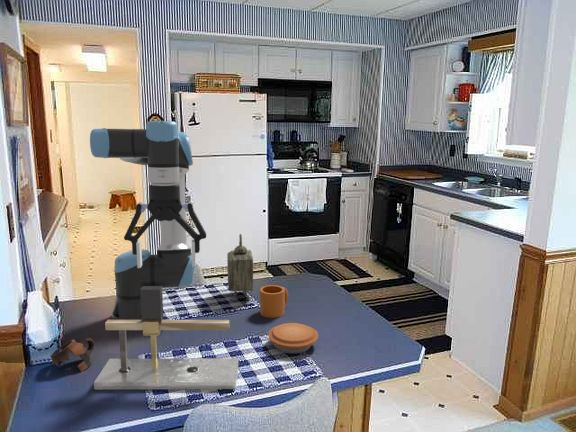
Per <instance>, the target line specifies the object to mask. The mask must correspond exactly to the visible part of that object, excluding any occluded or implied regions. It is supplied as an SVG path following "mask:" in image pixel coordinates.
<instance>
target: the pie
mask: <svg viewBox="0 0 576 432" xmlns="http://www.w3.org/2000/svg"><path fill="white" fill-rule="evenodd" d="M267 335H268V339H269V340H270V341H271V343H272V344H273V346H274V347H275V348H276V349H277V350H278V351H280V352H282V353H286V354H293V353H294V354H295V355H297V354H301V353H305V352H307V351H309V349H311V347H312V346H313V344H315V343H316V342H317V340H318V338H319V332H318V331H317V330H316V329H315V328H313V327H311V326H309V325H306V324H303V323H300V322H299V323H298V322H285V323H281V324H279V325H276V326H274V327H271V329H270V330H268V333H267ZM294 354H293V355H294Z"/></svg>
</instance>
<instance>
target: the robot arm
mask: <svg viewBox="0 0 576 432" xmlns="http://www.w3.org/2000/svg"><path fill="white" fill-rule="evenodd" d="M145 127H146V128H106V127H102V128H93V129H92V130H90V134H89V148H90V152H91V155H92V156H93V157H95V158H99V159H100V158H101V159H108V158H109V159H119V160H121V161H123V162H126V163H131V164H135V165H140V166H147V176H148V177H147V178H148V180H147V181H148V182H149V186H148V203H142V202H138V203H137V204H136V205H135V213H134V215H133V217H132V220H131V222H130V224H129V226H128V227H127V230H126V232H125V234H124V236H123V239H124V241H128V242H130V243H131V249H132V250H129V251H126V252H123V253H121V254H118V256H117V257H116V258H115V260H114V270H113V272H114V281H115V297H116V299H115V302H114V306H113V309H112V313H111V316H112V317H111V320H142V318H141V299H140V289H141V288H142V286H162V289H165V288H166V289H168V288H182V287H189V286H191V285H192V284H193V282H194V271H195V267H196V263H197V261H196V258H197V255H196V254H199V253H200V251H201V250H200V249H201V248H200V247H201V246H200V245H201V244H200V241H202V240H203V239H206V238H207V232H206V231H205V228H204V226H203V225H202V223H201V221H200V219H199V217H198V216H197V213H196V212H195V209H194V204H193V202H191V201H188V203H187V202H186V181H185V180H186V179H185V177H186V174H187V173H188V172H189V171H190V170H189V169H190V167H191V166H193V164H194V161H193V154H192V148H191V142H190V138H189V137H190V136H189V134H188V133H186V132H184V131H179V129H178V127H179V126H178V123H177V122H176V121H172V120H171V121H170V120H169V121H168V120H149V121H147V122H146V126H145ZM146 210H148V212H149V213H150V214H151V215H150V217H148V219H147V220H146V221H145V223H144V224H143V225H142V226H141V227H140V228H139V229H138V231H137V233H136V234H134V235H133V232H134V231H135V228H136V226H137V224H138V222H139V219H140V218H141V216H142V213H144V212H146ZM186 212H187V213H188V215H189V217H190V219H191V220H192V222H193V225H194V226H195V228H196V230H197V231H198V232H197V231H196V230H195V229H194V228H193V227H192V226H191V224H190V223H188V222H187V215H186V214H187V213H186ZM155 220H156V221H158V222H160V245H159V246H158V247H157V248H156V254H151V253H152V252H151V251H150V250H148V249H142V240H139V239H140V237H141V236H143V235H144V233H145V232H146V230H147V229H148V228H149V227H150V226H151V225H152V223H153V222H155ZM187 233H188V234H189V236H190V237H191V238H192V239H191V246H190V245H189V244H188V243H187ZM198 233H199V234H198Z"/></svg>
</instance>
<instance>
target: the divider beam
mask: <svg viewBox="0 0 576 432" xmlns="http://www.w3.org/2000/svg"><path fill="white" fill-rule="evenodd" d="M104 325H105V326H104V327H105V329H104V330H105V331H118V335H119V337H118V339H119V353H120V354H119V356H120V359H121V371H127V370H128V359H129V358H128V344H127V343H128V342H127V340H128V339H127V331H143V322H142V320H112V319H107V320H106V321H105V323H104ZM230 326H231V325H230V319H163V320H162V322H159V329H160V330H161V331H230Z"/></svg>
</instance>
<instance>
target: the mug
mask: <svg viewBox="0 0 576 432" xmlns="http://www.w3.org/2000/svg"><path fill="white" fill-rule="evenodd" d="M288 300H289V292H288V290H287V288H286V287H284V286H280V285H276V284H269V285H264V286H261V287H260V288H259V311H260V312H259V313H260V315H261V316H263V317H265V318H272V319H274V318H275V319H276V318H280V317H281V316H284V315H285V307H286V306H287V304H288Z"/></svg>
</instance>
